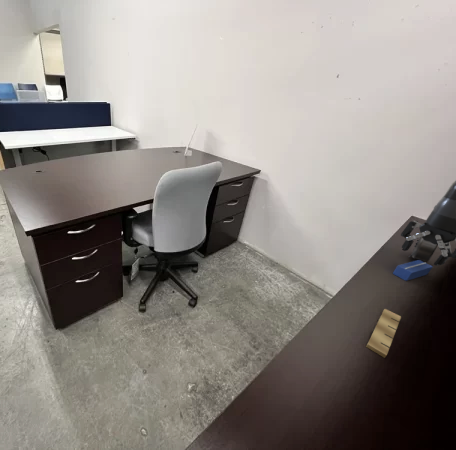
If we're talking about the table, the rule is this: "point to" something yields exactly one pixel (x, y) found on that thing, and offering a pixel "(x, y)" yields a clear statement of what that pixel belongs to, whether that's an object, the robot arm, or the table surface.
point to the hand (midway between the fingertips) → (419, 257)
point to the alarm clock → (423, 250)
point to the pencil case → (412, 270)
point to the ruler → (384, 333)
